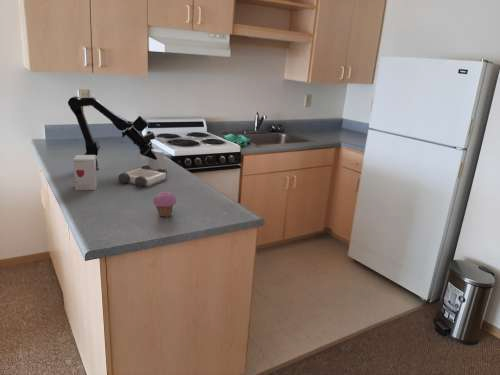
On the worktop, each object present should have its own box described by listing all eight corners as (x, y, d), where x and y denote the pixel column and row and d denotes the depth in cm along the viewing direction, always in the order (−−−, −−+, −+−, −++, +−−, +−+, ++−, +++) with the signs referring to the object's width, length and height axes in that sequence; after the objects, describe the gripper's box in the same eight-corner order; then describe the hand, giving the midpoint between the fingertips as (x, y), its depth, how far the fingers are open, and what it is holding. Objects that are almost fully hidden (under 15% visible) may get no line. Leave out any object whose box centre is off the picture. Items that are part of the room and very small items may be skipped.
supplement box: (75, 190, 185) (72, 159, 181) (77, 184, 193) (75, 154, 189) (96, 190, 188) (94, 159, 183) (97, 184, 196) (95, 154, 191)
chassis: (145, 188, 195) (145, 178, 193) (117, 182, 201) (116, 172, 199) (168, 178, 212) (168, 169, 211) (142, 173, 218) (142, 164, 217)
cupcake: (177, 212, 167) (177, 189, 164) (174, 220, 159) (174, 196, 156) (155, 211, 167) (155, 188, 164) (151, 219, 159) (151, 195, 156)
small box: (161, 171, 224) (164, 152, 222) (152, 170, 221) (155, 151, 219) (156, 167, 231) (159, 149, 229) (147, 166, 228) (149, 148, 225)
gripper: (146, 130, 210) (167, 151, 215) (146, 124, 227) (166, 143, 233) (130, 144, 210) (152, 165, 216) (132, 137, 227) (152, 157, 233)
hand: (156, 157), depth 225 cm, fingers closed on small box, 9 cm apart
